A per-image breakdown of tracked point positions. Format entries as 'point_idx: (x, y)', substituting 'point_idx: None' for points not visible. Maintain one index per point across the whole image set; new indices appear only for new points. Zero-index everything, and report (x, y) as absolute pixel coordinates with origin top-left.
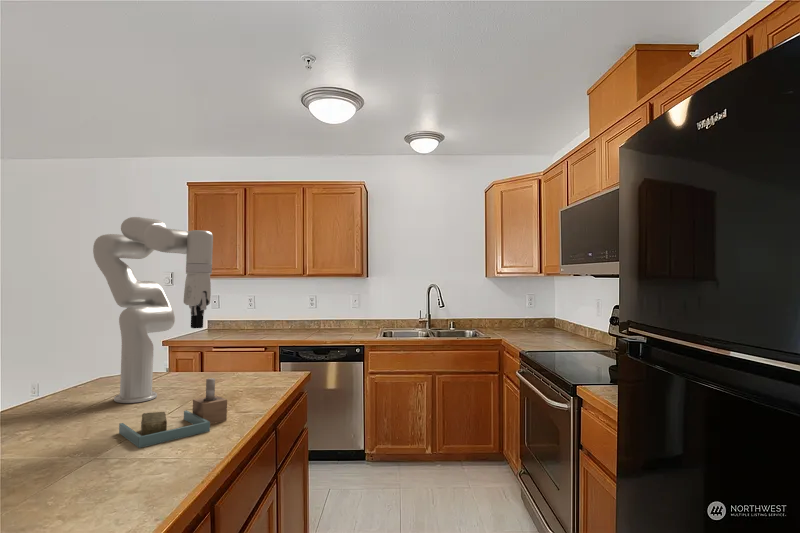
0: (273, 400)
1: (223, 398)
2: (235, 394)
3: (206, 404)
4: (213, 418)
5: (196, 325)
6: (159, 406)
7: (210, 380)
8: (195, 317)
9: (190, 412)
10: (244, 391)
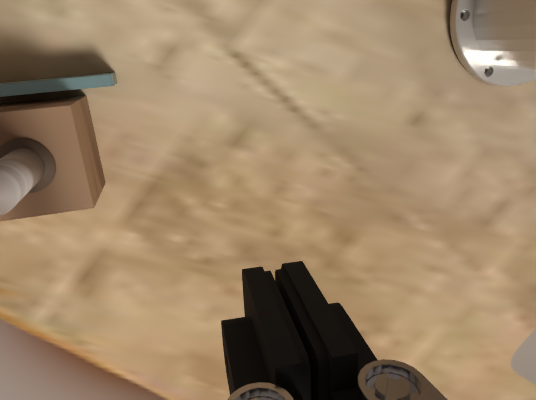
0: (178, 386)
1: (16, 217)
2: None
3: None
4: None
5: (239, 319)
6: (351, 52)
7: None
8: (267, 377)
9: (69, 88)
10: None
